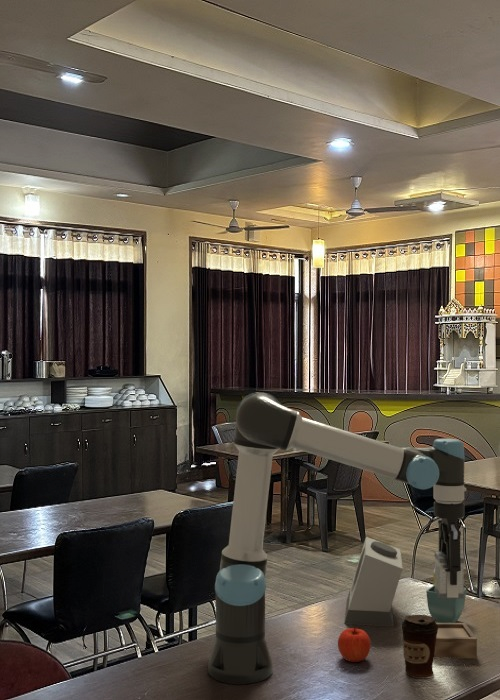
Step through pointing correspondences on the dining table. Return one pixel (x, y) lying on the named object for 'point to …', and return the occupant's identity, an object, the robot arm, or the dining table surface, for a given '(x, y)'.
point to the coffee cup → (419, 644)
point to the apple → (354, 644)
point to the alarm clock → (374, 585)
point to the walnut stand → (455, 641)
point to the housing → (442, 575)
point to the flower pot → (444, 607)
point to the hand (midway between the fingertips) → (449, 592)
